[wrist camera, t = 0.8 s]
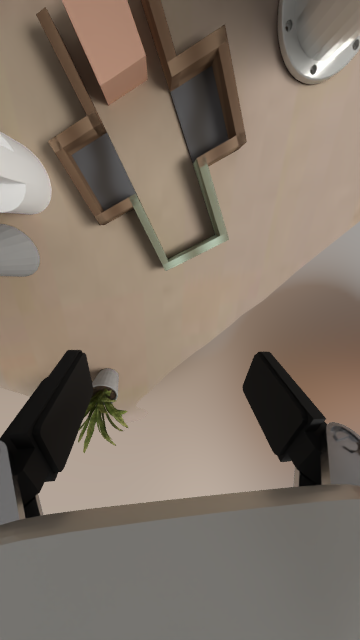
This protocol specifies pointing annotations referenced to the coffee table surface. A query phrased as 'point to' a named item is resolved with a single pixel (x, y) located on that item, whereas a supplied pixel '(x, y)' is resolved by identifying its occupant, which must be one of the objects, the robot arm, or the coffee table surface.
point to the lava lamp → (17, 253)
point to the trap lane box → (194, 116)
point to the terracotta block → (109, 44)
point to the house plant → (102, 405)
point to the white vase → (22, 179)
